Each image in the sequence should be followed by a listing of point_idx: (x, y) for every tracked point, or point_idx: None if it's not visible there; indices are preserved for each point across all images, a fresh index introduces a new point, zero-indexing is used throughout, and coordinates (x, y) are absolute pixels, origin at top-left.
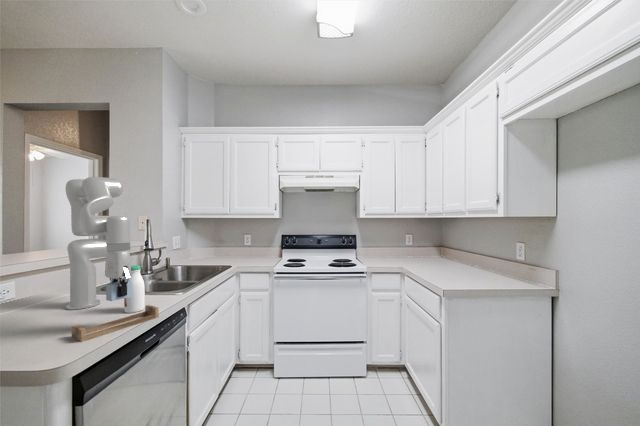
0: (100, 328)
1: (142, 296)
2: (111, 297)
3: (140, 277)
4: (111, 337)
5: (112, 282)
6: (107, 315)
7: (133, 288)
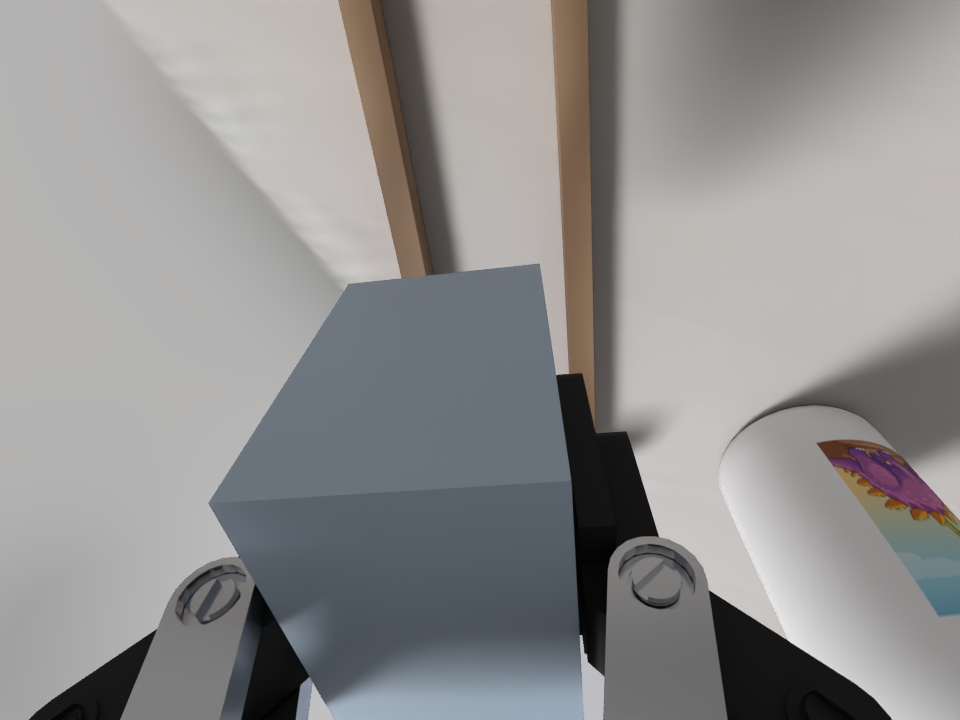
0: (556, 112)
1: (766, 590)
2: (335, 315)
3: None
4: (241, 108)
5: (605, 618)
6: (926, 292)
7: (850, 645)
